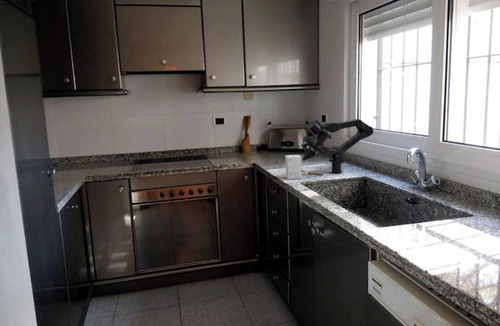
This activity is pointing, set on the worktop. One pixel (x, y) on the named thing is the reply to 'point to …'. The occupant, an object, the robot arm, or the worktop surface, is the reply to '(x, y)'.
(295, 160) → the small box
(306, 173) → the wooden turner
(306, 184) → the worktop surface
